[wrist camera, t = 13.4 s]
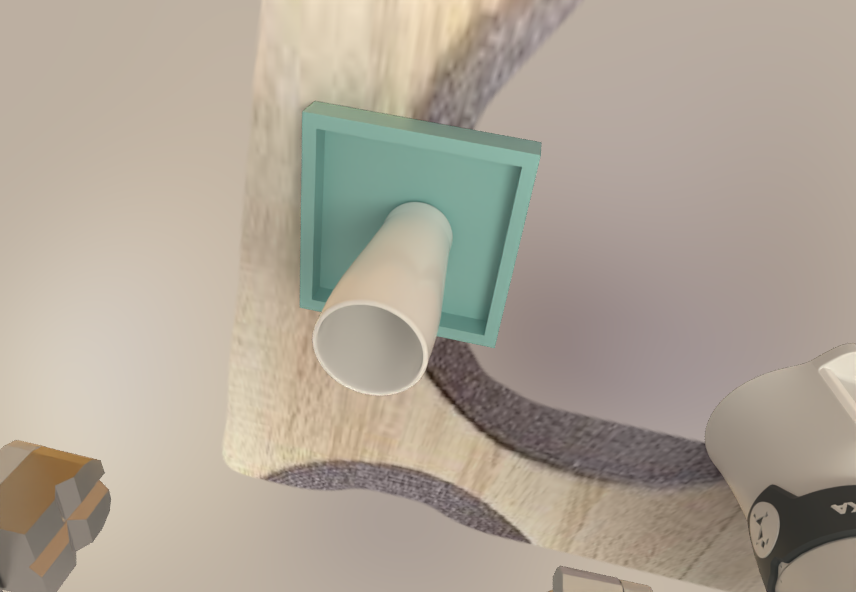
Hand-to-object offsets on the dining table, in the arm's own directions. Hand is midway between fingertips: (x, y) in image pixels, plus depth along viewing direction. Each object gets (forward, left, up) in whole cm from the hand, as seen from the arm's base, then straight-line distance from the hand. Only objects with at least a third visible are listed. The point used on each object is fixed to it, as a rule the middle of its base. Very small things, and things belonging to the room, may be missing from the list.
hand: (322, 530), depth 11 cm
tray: (+4, +12, -35) cm, 37 cm away
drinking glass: (+3, +12, -35) cm, 37 cm away
